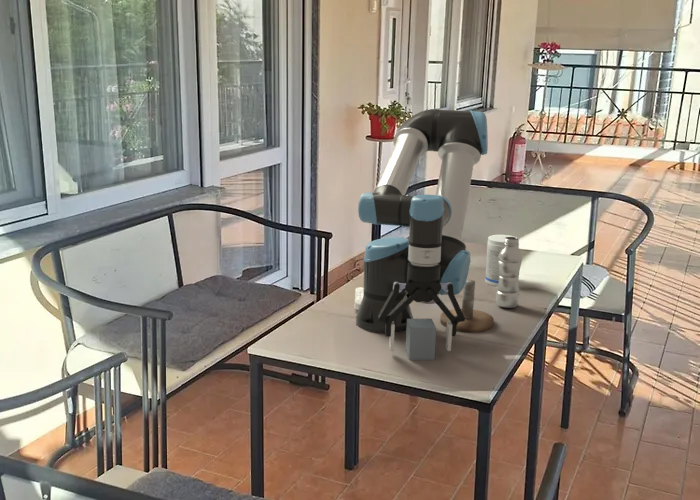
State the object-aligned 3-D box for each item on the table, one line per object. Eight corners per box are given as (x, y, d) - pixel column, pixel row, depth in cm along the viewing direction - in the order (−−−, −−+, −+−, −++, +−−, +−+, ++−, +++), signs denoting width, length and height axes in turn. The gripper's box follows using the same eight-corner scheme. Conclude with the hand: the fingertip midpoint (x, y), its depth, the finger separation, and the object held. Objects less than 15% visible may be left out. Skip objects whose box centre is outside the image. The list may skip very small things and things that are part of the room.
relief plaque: (391, 295, 233) (391, 285, 232) (393, 313, 217) (393, 302, 217) (355, 294, 233) (355, 284, 232) (354, 312, 218) (354, 301, 217)
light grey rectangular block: (409, 359, 185) (410, 327, 183) (405, 350, 190) (406, 318, 188) (434, 359, 185) (436, 327, 183) (430, 349, 191) (431, 318, 189)
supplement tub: (489, 277, 251) (493, 232, 248) (519, 282, 247) (523, 236, 244) (480, 285, 243) (483, 239, 239) (510, 290, 239) (514, 243, 235)
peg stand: (445, 332, 203) (447, 289, 200) (436, 313, 216) (438, 273, 213) (499, 331, 204) (502, 289, 201) (486, 313, 217) (489, 273, 214)
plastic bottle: (518, 311, 220) (524, 241, 215) (494, 309, 221) (499, 240, 216) (518, 304, 226) (524, 236, 221) (494, 302, 227) (499, 234, 222)
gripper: (371, 266, 177) (368, 354, 183) (481, 267, 179) (475, 354, 184) (368, 258, 185) (366, 343, 190) (473, 258, 186) (468, 343, 192)
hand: (419, 349), depth 187 cm, fingers open, 13 cm apart
